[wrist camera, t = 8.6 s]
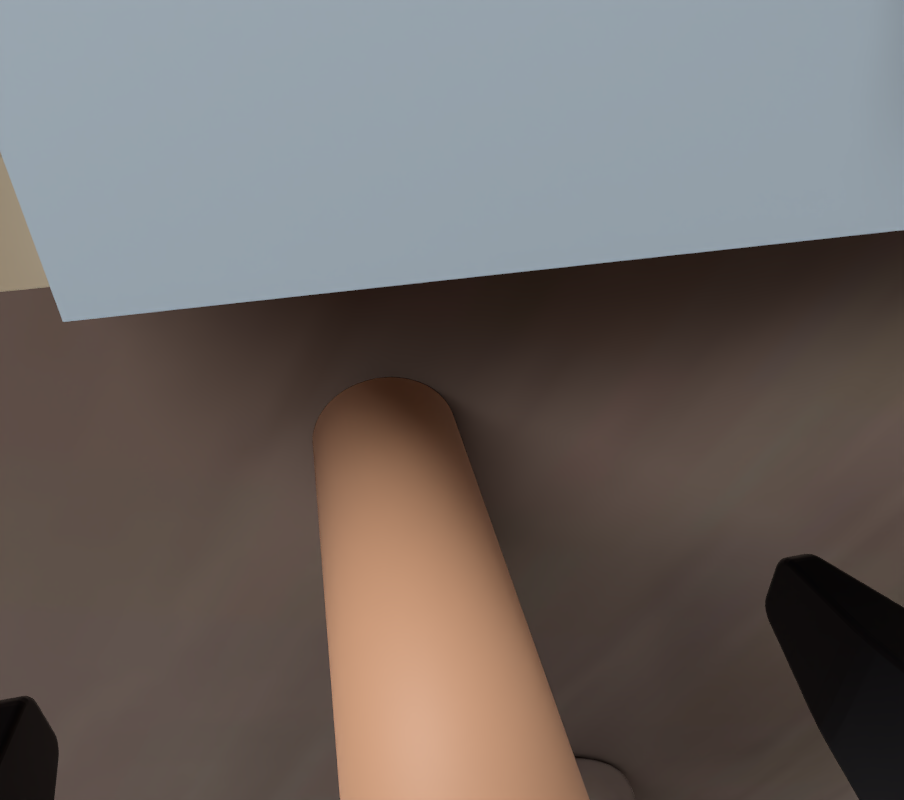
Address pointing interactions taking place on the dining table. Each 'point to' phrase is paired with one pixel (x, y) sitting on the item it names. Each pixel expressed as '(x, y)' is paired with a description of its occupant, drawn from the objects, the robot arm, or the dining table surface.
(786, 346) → the dining table surface
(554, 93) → the lid
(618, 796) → the beer glass
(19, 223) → the wooden compartment tray
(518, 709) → the peg
